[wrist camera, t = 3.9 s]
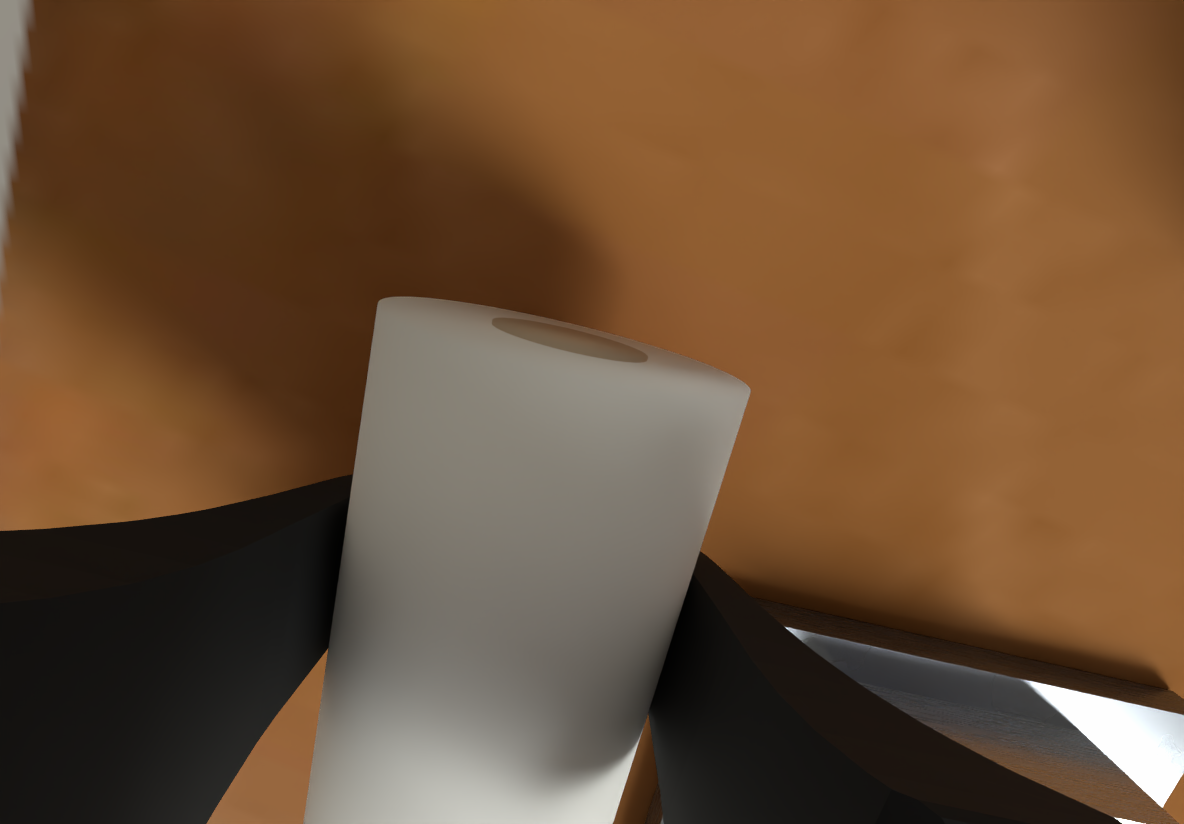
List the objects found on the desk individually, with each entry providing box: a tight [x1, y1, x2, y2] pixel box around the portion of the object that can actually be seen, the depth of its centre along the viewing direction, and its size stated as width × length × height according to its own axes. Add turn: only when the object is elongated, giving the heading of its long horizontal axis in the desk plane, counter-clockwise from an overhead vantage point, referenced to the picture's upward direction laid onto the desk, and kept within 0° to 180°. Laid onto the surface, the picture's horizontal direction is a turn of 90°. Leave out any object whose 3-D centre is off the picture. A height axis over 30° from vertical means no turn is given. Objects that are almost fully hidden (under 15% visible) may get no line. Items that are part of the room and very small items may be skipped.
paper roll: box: [303, 297, 751, 824], centre depth 9 cm, size 9×6×6 cm, turn 166°
